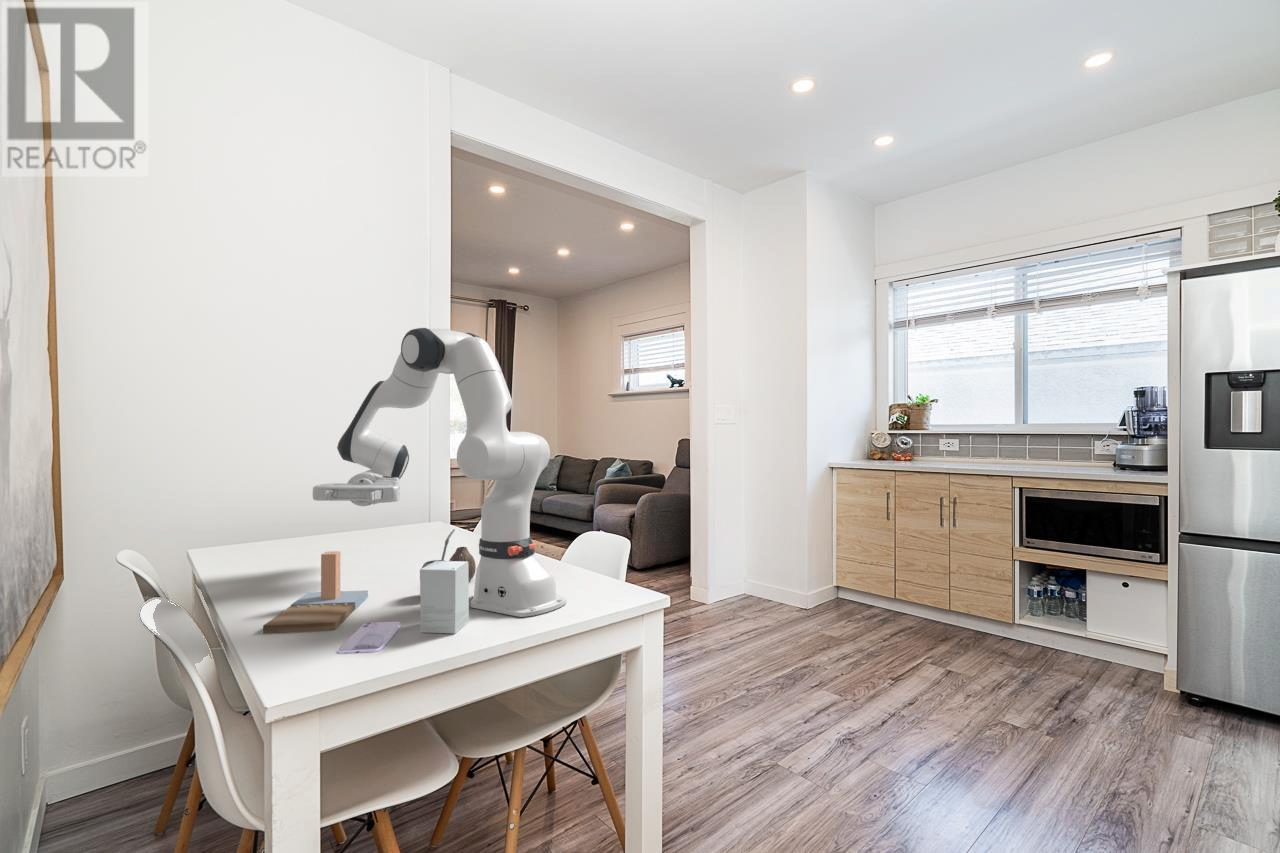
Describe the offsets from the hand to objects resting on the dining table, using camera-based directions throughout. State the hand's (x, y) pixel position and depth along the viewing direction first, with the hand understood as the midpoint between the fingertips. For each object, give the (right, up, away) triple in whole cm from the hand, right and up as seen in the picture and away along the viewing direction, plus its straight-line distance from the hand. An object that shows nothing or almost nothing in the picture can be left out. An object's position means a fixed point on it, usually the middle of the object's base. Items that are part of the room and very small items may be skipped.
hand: (348, 496), depth 142 cm
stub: (+2, -23, -11) cm, 25 cm away
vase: (+25, -23, +8) cm, 35 cm away
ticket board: (+3, -23, -22) cm, 32 cm away
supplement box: (+32, -23, -25) cm, 47 cm away
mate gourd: (+23, -23, -4) cm, 33 cm away
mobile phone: (+20, -24, -31) cm, 44 cm away
